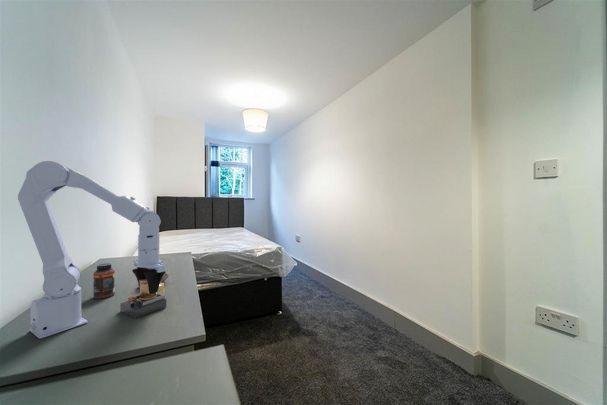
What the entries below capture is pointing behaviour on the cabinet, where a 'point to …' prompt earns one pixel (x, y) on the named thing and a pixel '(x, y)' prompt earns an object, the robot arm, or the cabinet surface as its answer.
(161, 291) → the gold short rounded piece
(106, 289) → the supplement bottle
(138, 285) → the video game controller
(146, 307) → the gray square open box
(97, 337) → the cabinet surface
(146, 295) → the copper flared cylinder
